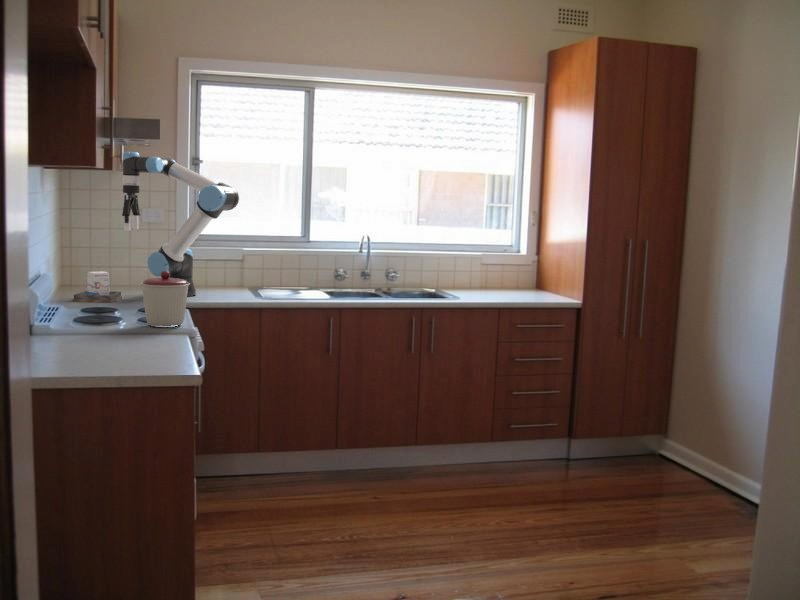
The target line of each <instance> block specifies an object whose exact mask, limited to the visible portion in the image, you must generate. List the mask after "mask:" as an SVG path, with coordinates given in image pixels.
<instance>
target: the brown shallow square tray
mask: <svg viewBox="0 0 800 600" xmlns="http://www.w3.org/2000/svg"><path fill="white" fill-rule="evenodd" d="M121 299H123V295H122V291H115V290H114V291H113V290H111V291H110V290H109V295H87V290H84V291H81V292H77V293H74V294H73V298H72V302H76V301H80V302H83V303H84V302H86V303H109V304H110V303H114V302H115V301H118V300H121ZM80 302H79V303H80Z"/></svg>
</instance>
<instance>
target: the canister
mask: <svg viewBox="0 0 800 600" xmlns="http://www.w3.org/2000/svg"><path fill="white" fill-rule="evenodd" d="M169 277H170V272H168V271H162V272H161V277H153V278H146V279H144V280H143V281H141V282H140V283H139V284H140V285H141V287H142V288H141V289H142V295H143V296H142V297H143V298H142V299H143V306H144V312H145V313H144V314H145V320H146V322H147V324H148V325H149V326H150V325H162V326H171V325H180V326H182V325H183V323H184V320H185V314H186V308H187V300H188V297H187V293H188V286H189V285H190V283H188V282H187V281H186V280H184V279H178V278H169ZM181 324H182V325H181Z"/></svg>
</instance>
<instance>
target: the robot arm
mask: <svg viewBox="0 0 800 600" xmlns="http://www.w3.org/2000/svg"><path fill="white" fill-rule="evenodd" d="M121 161H122V177H121V180H122V184H123V185H122V193H123V194H124V195H123V196H124V198H123V199H124V201H123V207H122V214H121V216H122V217H123V230H124V231H131V230H132V229H133V230H139V216H140V215H141V213H140V207H139V201H138V199H139V198H138V197H139V196H138V195H137V194H140V186H139V185H140V173H144V174H145V173H146V174H148V173H149V174H160V175H161V174H163V175H165V176H167V177H169V178H171V179H173V180H175V181H177V182H179V183H181V184H183V185H185V186H187V187H190V188H191V189H194V190H196V191H197V192H199V193H198V196H197V197H198V199H197V202H195V203H196V208H195V209H194V210H193V212H192V213H191V214H190V215H189V217H188V218H187V219H186V220H185V222H184V223H183V224H182V226H180V228H179V229H178V231H177V232H176V233H175V234H174V235H173V237H172V238H171V239H170V240H169V242H168V243H163V244H161V245H162V246H161V247H160V248H159V249H158V250H157V251H154V252H152V253H151V254H149V256H148V258H147V262H146V263H147V264H146V265H147V268H148V270H149V272H150V273H151V274H152V275H154V277H155V276H156V277H157V278H162V277H161V272H162V271H168V272H170V277H169V278H178V279H184V280H186V281H187V282H188V283H190V285H189V286H188V293H187V296H189V297H194V296H193V295H195V296H197V290H196V286H195V283H194V281H193V279H194V278H193V268H194V266H193V265H194V264H193V262H194V259H193V258H194V255H193V251H192V250H191V248H190V247H191V246H192V244H193V243H194V242H195V241H196V240H197V239H198V237H199V236H201V235H200V234H201V233H202V232H203V231H204V230H205V228H206V227H207V226H208V225H209V224H210V222H211V221H212V220H217V218H219V216H220V215H221V214H222V213H223V211H231V210H233V209H235V208H236V207H237V206H238V204H239V200H240V196H239V195H240V194H239V192H238V190H237V189H236V188H235V187H233V186H230V185H228V184H225V183H224V182H223V181H221V182H220V181H219V182H217V181H215V180H213V179H210V178H208V177H206V176H204V175H202V174H200V173H198V172H196V171H195V170H194V171H193V170H191V169H190V168H188V167H185V166H183V165H181V164H179V163H177V162H176V161H175V160H174V159H172V158H169V157H166V158H165V157H158V156H140V153H139V152H135V151H124V152H123V154H122V160H121ZM131 213H132V215H131ZM131 222H132V223H131ZM131 224H132V225H131ZM131 228H132V229H131Z"/></svg>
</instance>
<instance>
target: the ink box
mask: <svg viewBox="0 0 800 600" xmlns="http://www.w3.org/2000/svg"><path fill="white" fill-rule="evenodd" d="M86 275H87V276H86V277H87V278H86V279H87V280H86V281H87V283H86V285H87V286H86V287H87V289H86V291H87V295H109V291H110V272H109V271H108V272H107V271H102V270H101V271H88V272H87V274H86Z"/></svg>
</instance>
